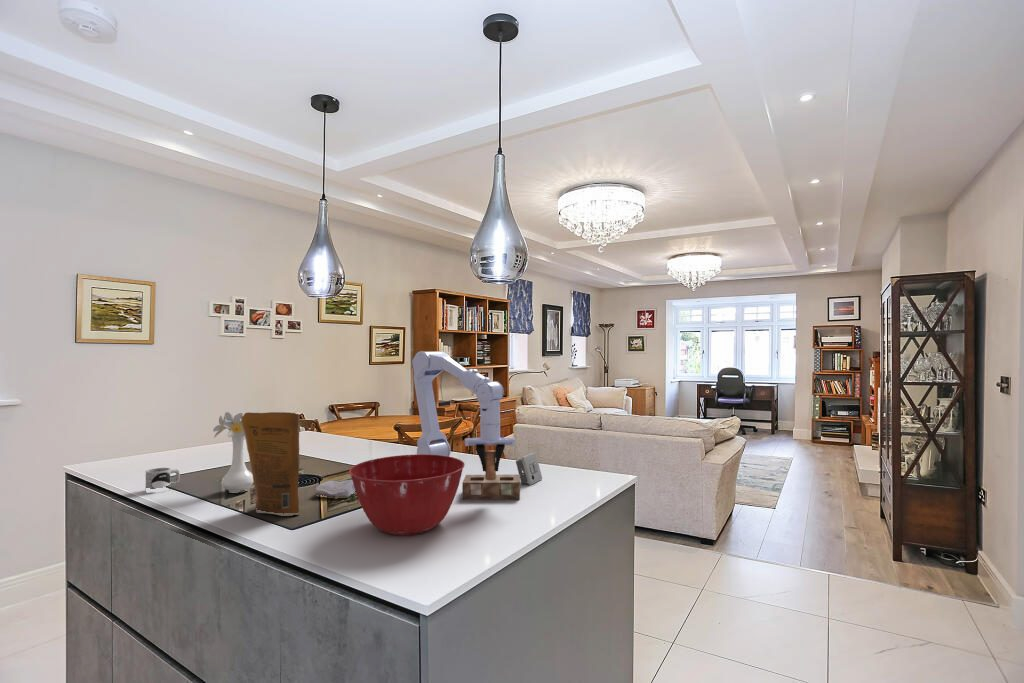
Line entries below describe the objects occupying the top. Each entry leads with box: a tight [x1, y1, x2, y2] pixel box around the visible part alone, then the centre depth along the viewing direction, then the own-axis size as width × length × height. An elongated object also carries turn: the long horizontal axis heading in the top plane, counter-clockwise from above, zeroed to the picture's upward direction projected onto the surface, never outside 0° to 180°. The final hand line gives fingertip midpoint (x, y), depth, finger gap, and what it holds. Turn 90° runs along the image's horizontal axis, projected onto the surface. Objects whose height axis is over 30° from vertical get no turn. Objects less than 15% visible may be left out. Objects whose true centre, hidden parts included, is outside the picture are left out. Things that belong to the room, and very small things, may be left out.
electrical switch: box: [515, 452, 543, 486], centre depth 179 cm, size 9×5×9 cm, turn 152°
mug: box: [145, 467, 181, 489], centre depth 173 cm, size 10×7×7 cm, turn 150°
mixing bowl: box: [348, 454, 465, 536], centre depth 134 cm, size 28×28×16 cm
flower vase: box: [212, 411, 254, 491], centre depth 170 cm, size 13×18×25 cm
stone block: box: [314, 479, 355, 497], centre depth 165 cm, size 12×5×10 cm
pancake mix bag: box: [240, 411, 301, 514], centre depth 146 cm, size 7×19×28 cm, turn 66°
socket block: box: [461, 474, 521, 501], centre depth 163 cm, size 17×10×5 cm, turn 89°
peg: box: [484, 449, 497, 480], centre depth 154 cm, size 3×3×8 cm
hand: (490, 470), depth 154 cm, fingers closed on peg, 3 cm apart
